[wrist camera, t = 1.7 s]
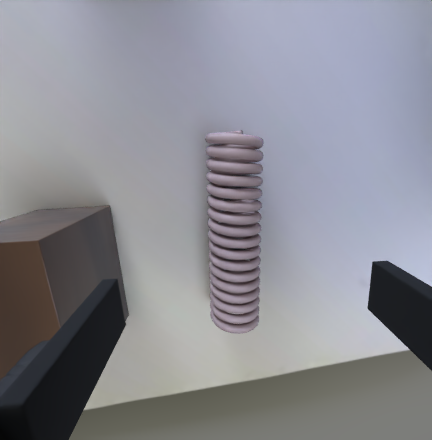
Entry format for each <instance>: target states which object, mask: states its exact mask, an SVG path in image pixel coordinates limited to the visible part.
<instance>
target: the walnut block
mask: <svg viewBox="0 0 432 440" xmlns="http://www.w3.org/2000/svg"><path fill="white" fill-rule="evenodd" d="M103 279H118V283H119V289H120V295H121V300H122V306H123V312H124V317H125V321H126V319H127V317H128V309H127V303H126V297H125V292H124V286H123V280H122V274H121V268H120V262H119V257H118V251H117V245H116V239H115V233H114V228H113V222H112V216H111V210H110V206H95V207H79V208H63V209H47V210H35V211H32V212H29V213H26V214H23V215H19V216H16V217H13V218H10V219H6V220H3V221H0V380H1V379H2V378H3V377H6V374H7V373H8V372H9V371H10V369H11V368H12V367H13V366H16V363H17V362H18V361H19V360H20V359H21V358H22V357H23V356H24V355H25V353H26V352H27V351H29V350H30V349H32V348H33V347H34V346H36V345H37V344H39V343H40V342H41V341H48V340H50V339H51V338H52V337H53V336H54V335H55V334H56V332H57V331H58V330H59V329H60V328H61V327H62V326H63V324H64V323H65V322H66V321H67V320H68V319H69V318H70V316H71V315H72V314H73V313H74V312H75V311H76V309H77V308H78V307H79V306H80V305H81V304H82V303H83V301H84V300H85V299H86V298H87V297H88V296H89V295H90V293H91V292H92V291H93V290H94V289H95V288H96V287H97V285H98V284H99V283H100V282H101V281H102V280H103Z"/></svg>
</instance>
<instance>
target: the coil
mask: <svg viewBox="0 0 432 440" xmlns="http://www.w3.org/2000/svg"><path fill="white" fill-rule="evenodd" d="M205 140H206V142H208V143H214V144H222V145H213V146H209V147H207V149H206V154H207V155H208V156H210V157H215V158H211V159H209V160H207V162H206V166H207V168H209V169H211V171H209V172H208V173H207V179H208V181H210V182H211V183H209V184H208V186H207V191H208V193H210V194H211V195H209V197H208V198H207V202H208V204H209V205H210V207H209V208H208V215H209V217H210V219H209V220H208V226H209V228H210V230H209V232H208V236H209V238H210V241H209V249H210V252H209V259H210V260H211V261H210V263H209V268H210V270H211V271H210V280H211V281H210V289H211V292H210V298H211V303H210V307H211V318H212V321H213V322H214V324H215V325H216V326H217V327H219V328H220V329H222V330H224V331H227V332H230V333H246V332H249V331H251V330H253V329H254V328H255V327H256V326H257V325H258V322H259V316H258V314H259V306H258V305H259V301H260V300H259V297H258V295H259V292H260V289H259V287H258V286H259V284H260V278H259V274H260V268H259V266H258V265H259V264H260V261H261V260H260V257H259V256H258V255H259V254H260V252H261V248H260V246H259V245H258V244H259V243H260V242H261V237H260V235H259V234H258V233H259V232H260V231H261V225H260V224H259V223H257V222H259V221H260V220H261V218H262V216H261V214H260V213H259V212H257V211H258V210H260V209H261V208H262V203H261V202H260V201H258V200H252V199H258V198H260V197H261V196H262V191H261V190H260V189H256V188H240V189H229V188H226V187H234V186H242V187H255V186H260V185H261V184H262V182H263V180H262V178H261V177H250V176H233V175H245V174H259V173H261V172H262V171H263V167H262V165H260V164H255V163H250V162H258V161H261V160H262V159H263V153H262V152H261V151H258V150H256V149H259V148H261V147H262V146H263V144H264V142H263V139H262V138H260V137H258V136H253V135H245V134H243V131H242V130H240V131H232V132H220V133H208V134H207V135H206V136H205ZM226 198H227V199H237V200H227V201H223V200H221V199H226ZM220 210H223V211H225V212H218V211H220ZM218 222H222V223H218ZM217 233H219V234H217ZM234 238H244V239H234ZM232 248H244V249H249V250H229V249H232ZM226 259H232V260H226ZM246 259H249V260H250V261H248V260H246ZM224 269H226V270H224ZM250 270H251V271H250ZM231 303H242V304H231ZM228 312H229V313H228ZM231 313H235V314H231ZM241 313H244V314H241ZM233 323H235V324H233ZM241 323H243V324H241Z"/></svg>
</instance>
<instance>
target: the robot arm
mask: <svg viewBox="0 0 432 440" xmlns="http://www.w3.org/2000/svg"><path fill="white" fill-rule="evenodd" d="M368 309H369V310H370V311H371V312H372V313H373V314H374V315H375V316H376V317H377V318H378V319H379V320H380V321H381V322H382V323H383V324H384V325H385V326H386V327H387V328H388V329H389V330H390V331H391V332H392V333H393V334H394V335H395V336H396V337H397V338H398V339H400V340H401V341H402V342H403V343H404V344H405V345H406V346H407V347H408V348H409V349H410V350H411V351H412V352H413V353H414V354H415V355H416V356H417V357H418V358H419V359H420V360H421V361H423V363H424V364H425V365H426V366H427V367H429V369H431V370H432V287H431V286H429V285H428V284H426V283H424V282H423V281H421V280H419V279H417V278H416V277H414V276H412V275H411V274H409V273H407V272H406V271H404V270H402V269H401V268H399V267H397V266H395V265H394V264H392V263H390V262H389V261H377V262H373V264H372V273H371V282H370V291H369V301H368ZM125 325H126V323H125V317H124V312H123V306H122V300H121V295H120V289H119V283H118V279H103V280H102V281H101V282H100V283H99V284H98V285H97V287H96V288H95V289H94V290H93V291H92V292H91V293H90V295H89V296H88V297H87V298H86V299H85V300H84V301H83V303H82V304H81V305H80V306H79V307H78V308H77V309H76V311H75V312H74V313H73V314H72V315H71V316H70V318H69V319H68V320H67V321H66V322H65V323H64V324H63V326H62V327H61V328H60V329H59V330H58V331H57V332H56V334H55V335H54V336H53V337H52V338H51V339H50V340H48V341H41V342H40V343H39V344H37V345H36V346H34V347H33V348H32V349H30V350H29V351H27V352H26V353H25V355H24V356H23V357H22V358H21V359H20V360H19V361H18V362H17V363H16V366H13V367H12V368H11V369H10V371H9V372H8V373H7V374H6V377H3V378H2V379H1V380H0V440H69V437H70V436H71V434H72V432H73V430H74V428H75V426H76V423H77V422H78V420H79V417H80V416H81V413H82V412H83V410H84V408H85V406H86V404H87V402H88V400H89V398H90V396H91V394H92V392H93V390H94V388H95V386H96V384H97V382H98V380H99V378H100V376H101V374H102V372H103V370H104V368H105V366H106V364H107V362H108V360H109V358H110V356H111V354H112V352H113V350H114V348H115V346H116V344H117V342H118V339H119V337H120V335H121V333H122V331H123V329H124V327H125Z"/></svg>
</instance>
